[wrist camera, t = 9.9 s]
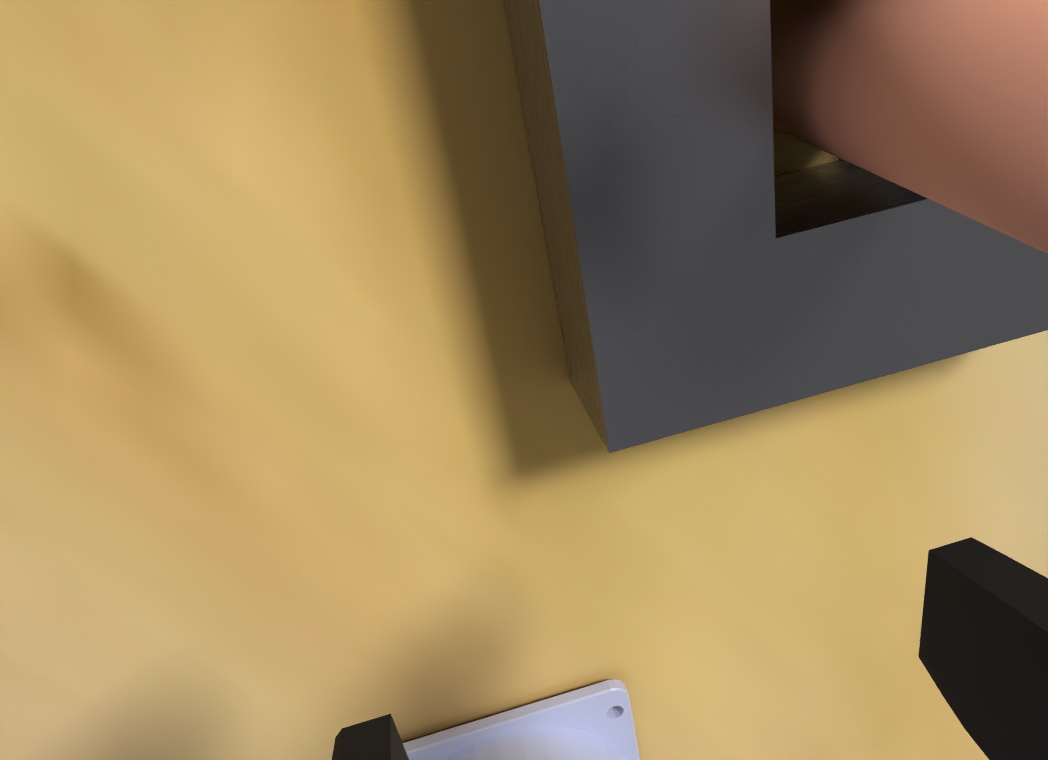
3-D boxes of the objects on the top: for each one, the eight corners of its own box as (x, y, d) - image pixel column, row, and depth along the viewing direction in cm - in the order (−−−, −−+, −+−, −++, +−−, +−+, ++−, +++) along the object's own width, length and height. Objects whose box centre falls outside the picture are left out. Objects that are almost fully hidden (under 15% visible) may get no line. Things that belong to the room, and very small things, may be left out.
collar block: (1035, 256, 21) (1137, 304, 18) (570, 382, 19) (609, 452, 17) (1128, -378, 14) (1304, -442, 12) (460, -249, 13) (494, -290, 11)
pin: (872, 117, 18) (1212, 241, 11) (740, 143, 18) (1008, 288, 11) (883, -37, 16) (1286, -5, 10) (739, -12, 16) (1051, 40, 9)
